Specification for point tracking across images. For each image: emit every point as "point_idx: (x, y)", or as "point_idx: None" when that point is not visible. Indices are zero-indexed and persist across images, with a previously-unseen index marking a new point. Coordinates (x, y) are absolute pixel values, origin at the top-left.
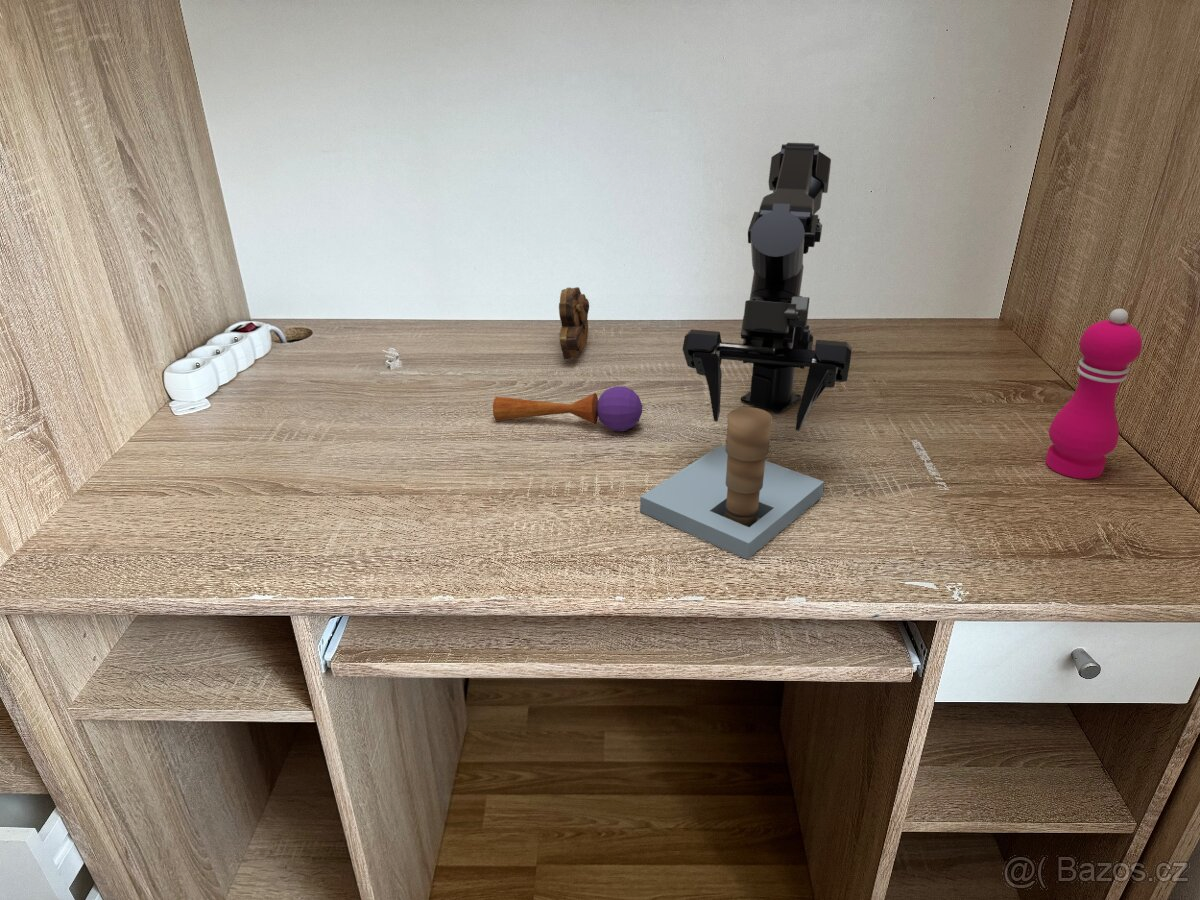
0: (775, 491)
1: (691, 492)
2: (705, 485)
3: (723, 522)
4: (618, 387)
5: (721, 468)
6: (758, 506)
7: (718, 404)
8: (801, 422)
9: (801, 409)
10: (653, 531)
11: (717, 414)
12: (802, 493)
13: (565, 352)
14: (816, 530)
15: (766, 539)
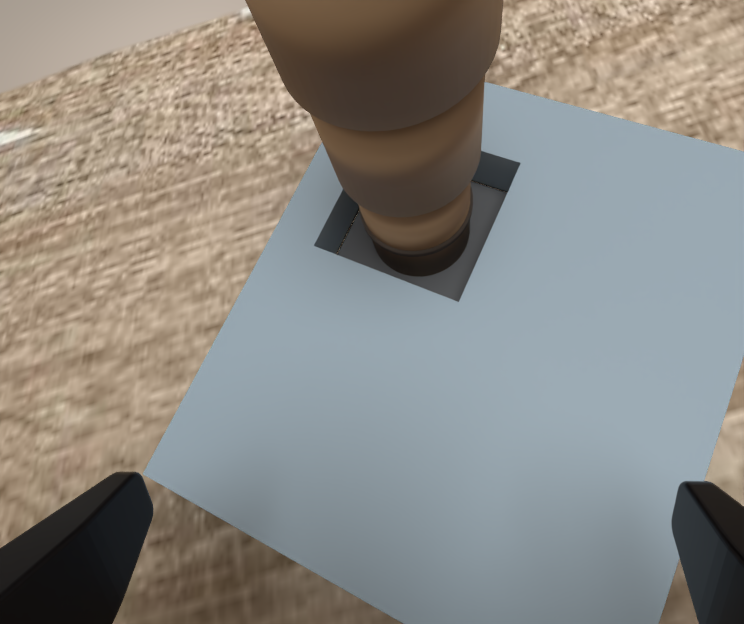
0: (314, 350)
1: (618, 252)
2: (580, 317)
3: None
4: None
5: (552, 477)
6: (361, 217)
7: (739, 560)
8: (87, 492)
9: (32, 552)
10: (673, 120)
11: (695, 500)
12: (222, 364)
13: None
14: (205, 273)
15: None
